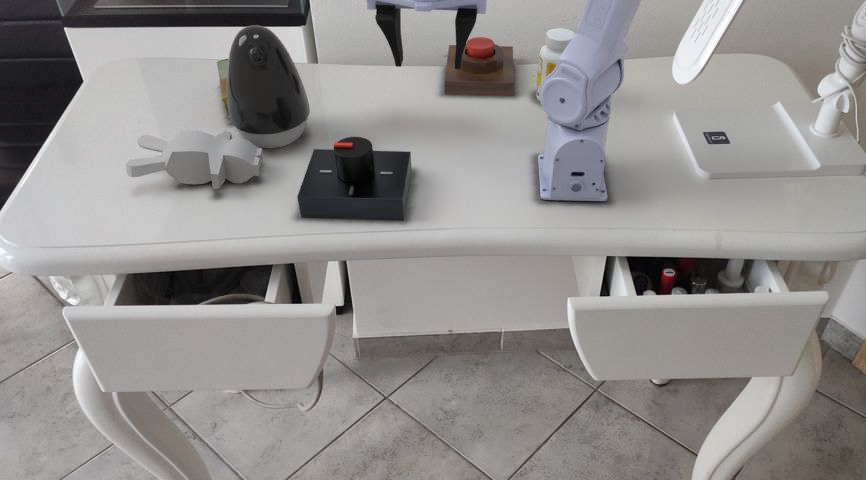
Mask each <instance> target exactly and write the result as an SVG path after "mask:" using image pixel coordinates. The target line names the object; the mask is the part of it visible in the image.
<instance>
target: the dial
mask: <svg viewBox="0 0 866 480" xmlns="http://www.w3.org/2000/svg"><path fill="white" fill-rule="evenodd" d="M373 147H374V146H373V143H372V142H371V141H370V140H369V139H367V138H365V137H362V136H348V137H344V138H341V139H339V140H338V141H336V142H334V143H333V150H334V153H335V161H336V168H337V175H338V177H339V178H340V179H341V180H343V181H345V182H348V183H361V182H364V181H367V180H369V179H370V178H372V177H373V175H374V173H375V168H374V157H373V151H374V148H373Z"/></svg>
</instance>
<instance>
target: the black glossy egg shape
mask: <svg viewBox="0 0 866 480" xmlns="http://www.w3.org/2000/svg"><path fill="white" fill-rule="evenodd" d="M228 58H229V59H228ZM228 58H227V59H228V69H227V104H228V113H229V115H228V117H229V121H230V123H231V124H232V126H233V127H234V128H235V130H236V131H237V132H238V134H239V135H240V136H241V138H244V139H246V140H248V141H250V142H251V143H252V144H254V145H255V146H256V147H257V148H262V149H263V148H264V149H277V148H282V147H285V146H288V145H290V144H292V143H294V142H295V141H297V140H298V139H299V138H300V137H301V136H302V134H303V133H304V131H305V129H306V127H307V123H308V118H309V116H310V112H311V111H310V109H311V108H310V102H309V99H308V96H307V92H306V90H305V86H304V83H303V81H302V78H301V76H300V74H299V71H298V69H297V67H296V65H295V62H294V60H293V58H292V57H291V54H290V52H289V51H288V49H287V48H286V46H285V45H284V43H283V42H282V41H281V39H280V38H279V37H278V35H276V33H274V32H273V31H272V30H271V29H270V28H268V27H266V26H264V25H263V26H262V25H258V24H256V25H255V24H254V25H248V26H245V27H243V28H242V29H241V30H239V31H238V32H237V34H236V35H235V36H234V39H233V41H232V43H231V47H230V49H229V54H228ZM228 113H227V114H228Z"/></svg>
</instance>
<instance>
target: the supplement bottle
mask: <svg viewBox="0 0 866 480" xmlns="http://www.w3.org/2000/svg"><path fill="white" fill-rule="evenodd" d="M575 33H576V32H574V31H572V30H571V29H568V28H562V27H557V28H552V29H549V30H547V32H546V34H545V41H544V42H545V44H544V45H543V46H542V47H541V48H540V50H539V55H538V64H537V76H536V86H535V96H536V98H537V100H538V101H539V102H540V98H539V90H540V86H541V83H542V82H543V80H544V79H545V77H547V76H548V75H549V74H550V73H552V71H553V70H554V69H555V67H556V65H557V62H558V59H559V57H560V56H561V54H562V53H563V51H564V50H565V48H566V47H567V45H568V44H569V42H570V41H571V40H572V38H573V37H574V35H575Z"/></svg>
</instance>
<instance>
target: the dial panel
mask: <svg viewBox="0 0 866 480" xmlns="http://www.w3.org/2000/svg"><path fill="white" fill-rule="evenodd" d="M373 157H374V168H375V173H374V175H373V177H372V178H370V179H369V180H367V181H364V182H361V183H348V182H345V181H343V180H341V179H340V178H339V177H338V175H337V168H336V161H335V153H334V149H328V148H327V149H326V148H324V149H323V148H314V149H313V151H312V154H311V157H310V160H309V162H308V165H307V168H306V170H305V174H304V176H303V179H302V182H301V185H300V188H299V191H298V192H297V193H298V194H297V197H296V199H297V202H298V208H299V213H300V217H301V218H312V219H313V218H314V219H347V220H377V221H379V220H380V221H383V220H384V221H385V220H386V221H404V220H405V216H406V209H407V204H408V197H409V192H410V191H409V190H410V186H411V178H412V172H413V168H412V167H413V166H412V152H411V151H402V150H399V151H398V150H373Z"/></svg>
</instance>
